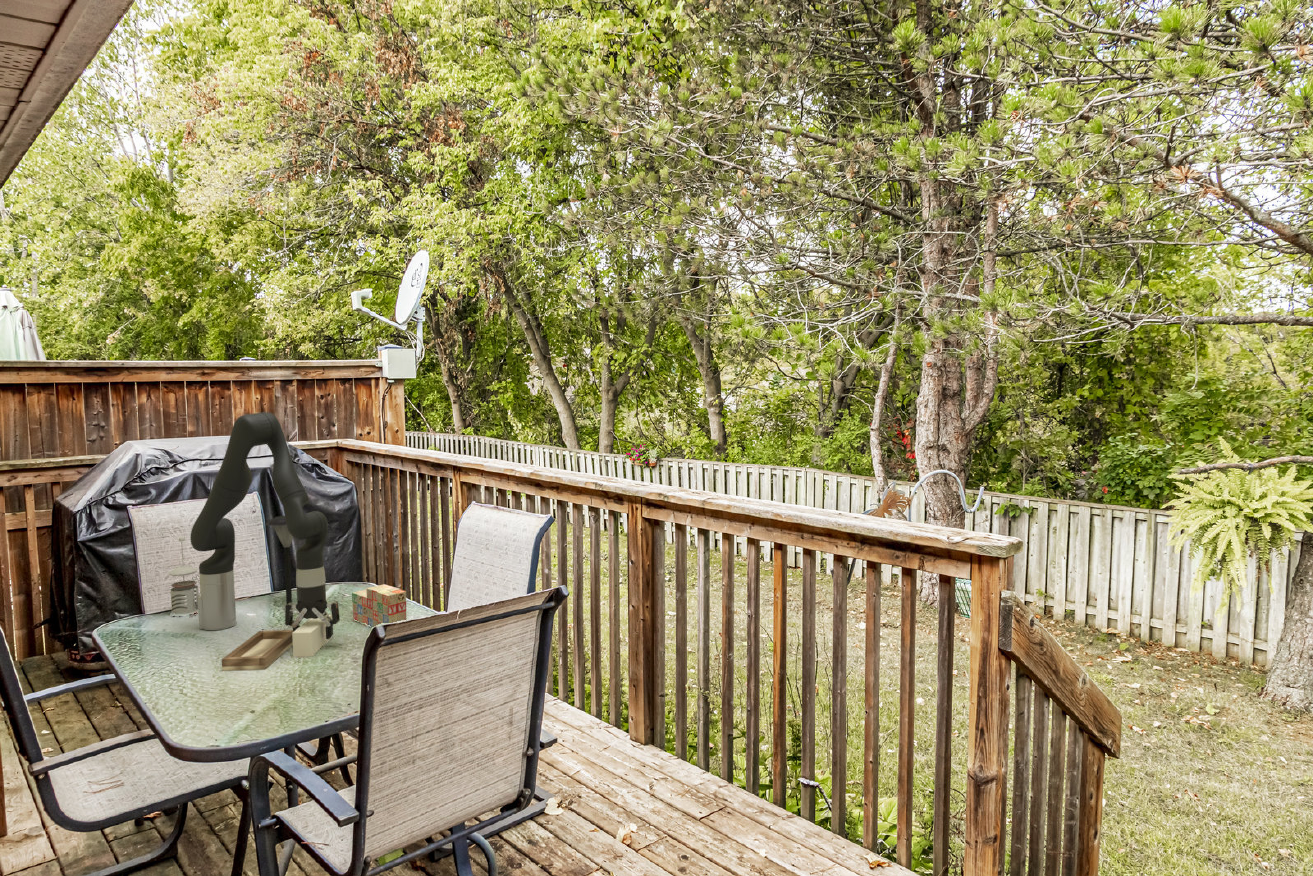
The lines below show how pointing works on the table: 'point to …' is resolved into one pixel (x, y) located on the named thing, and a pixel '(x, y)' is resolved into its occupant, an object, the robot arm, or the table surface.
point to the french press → (184, 590)
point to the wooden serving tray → (259, 650)
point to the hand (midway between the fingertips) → (313, 638)
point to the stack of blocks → (379, 605)
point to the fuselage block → (309, 638)
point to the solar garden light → (286, 540)
